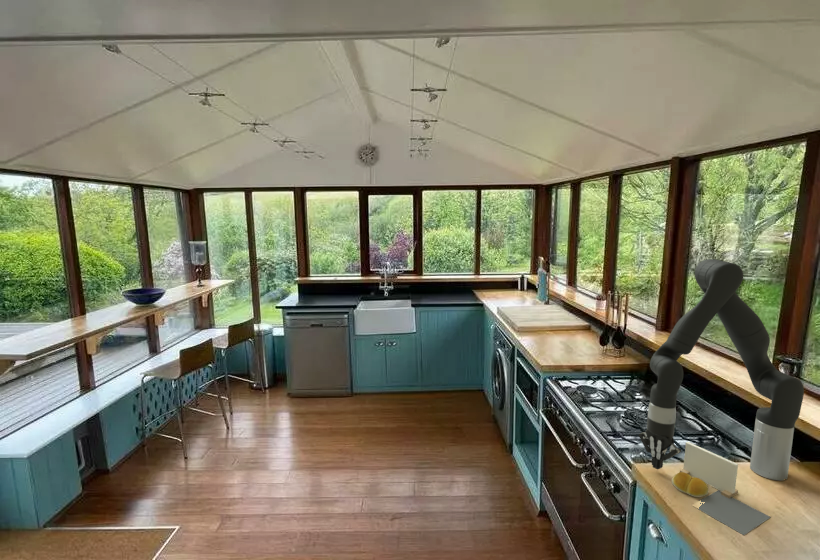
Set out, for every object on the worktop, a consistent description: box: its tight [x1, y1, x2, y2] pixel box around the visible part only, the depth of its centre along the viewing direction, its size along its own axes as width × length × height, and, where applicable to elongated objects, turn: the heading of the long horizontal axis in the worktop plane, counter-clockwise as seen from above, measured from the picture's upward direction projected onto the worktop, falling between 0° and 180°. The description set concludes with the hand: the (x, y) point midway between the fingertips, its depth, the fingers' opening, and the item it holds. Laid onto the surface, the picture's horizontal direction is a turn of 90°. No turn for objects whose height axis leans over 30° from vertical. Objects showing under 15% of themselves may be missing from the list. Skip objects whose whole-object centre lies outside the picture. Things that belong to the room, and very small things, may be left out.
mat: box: [698, 489, 771, 536], centre depth 118 cm, size 14×13×1 cm
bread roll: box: [671, 471, 709, 498], centre depth 127 cm, size 8×9×4 cm
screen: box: [679, 441, 739, 498], centre depth 129 cm, size 5×14×10 cm, turn 27°
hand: (656, 467), depth 136 cm, fingers closed
